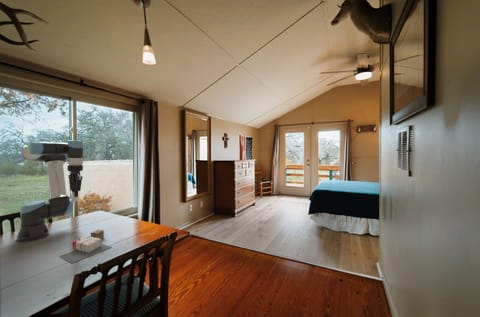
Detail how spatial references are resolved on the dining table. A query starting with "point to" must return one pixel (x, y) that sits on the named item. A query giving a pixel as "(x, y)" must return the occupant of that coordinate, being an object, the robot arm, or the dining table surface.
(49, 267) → the dining table surface
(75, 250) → the oak strip
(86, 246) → the ink box
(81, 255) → the mat
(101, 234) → the walnut block
